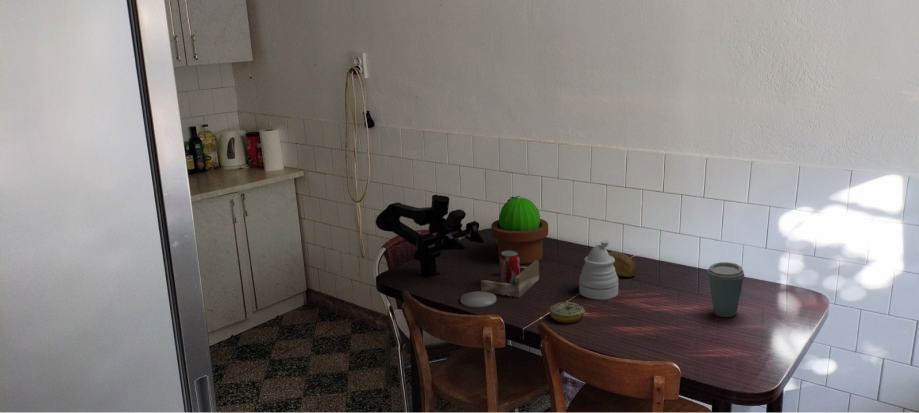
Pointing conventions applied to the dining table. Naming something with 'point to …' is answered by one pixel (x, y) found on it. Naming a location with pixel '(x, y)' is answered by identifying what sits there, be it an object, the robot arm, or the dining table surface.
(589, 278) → the honey pot
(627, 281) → the dining table surface
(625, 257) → the bread roll
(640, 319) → the dining table surface
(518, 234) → the potted cactus
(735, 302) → the disposable coffee cup
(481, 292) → the saucer
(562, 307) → the decorated donut
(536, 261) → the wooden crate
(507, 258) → the soda can
